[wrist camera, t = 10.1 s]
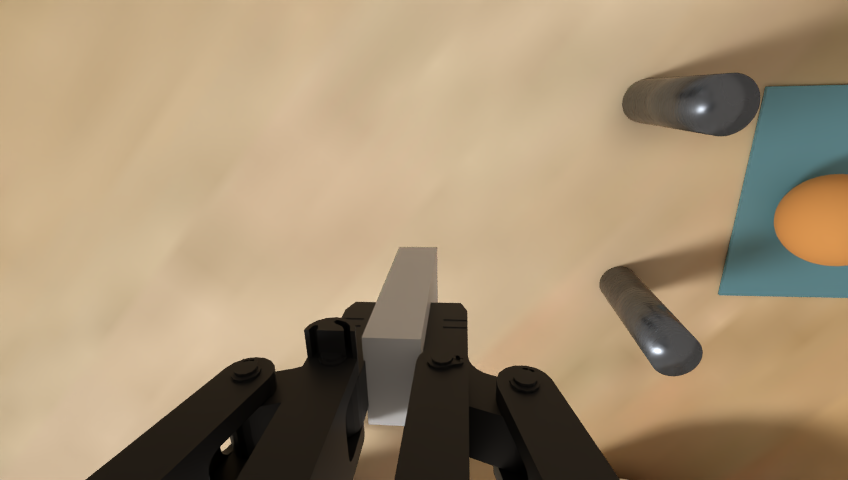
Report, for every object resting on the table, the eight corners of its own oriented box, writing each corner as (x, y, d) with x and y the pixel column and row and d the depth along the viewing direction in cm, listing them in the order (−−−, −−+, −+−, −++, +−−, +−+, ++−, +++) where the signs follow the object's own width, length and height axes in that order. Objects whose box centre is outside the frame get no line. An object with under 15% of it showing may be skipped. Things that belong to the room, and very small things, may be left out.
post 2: (597, 298, 31) (646, 375, 23) (601, 266, 30) (654, 333, 22) (634, 299, 31) (697, 377, 23) (639, 266, 30) (706, 334, 22)
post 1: (619, 122, 27) (689, 136, 19) (625, 79, 26) (701, 73, 18) (662, 122, 27) (752, 135, 19) (669, 78, 26) (766, 71, 18)
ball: (911, 281, 24) (820, 249, 29) (951, 184, 22) (847, 168, 27) (815, 279, 24) (742, 247, 29) (849, 181, 22) (765, 166, 27)
